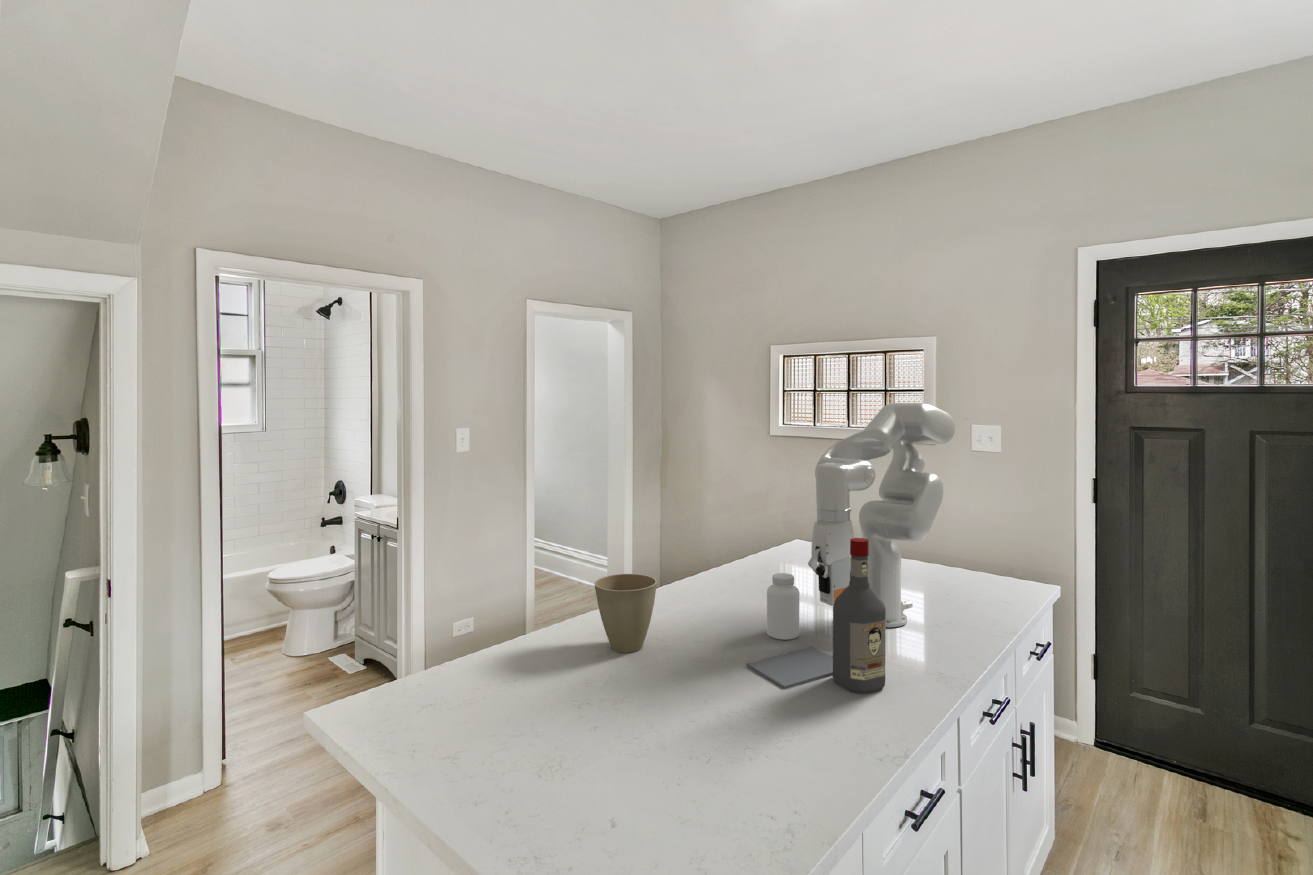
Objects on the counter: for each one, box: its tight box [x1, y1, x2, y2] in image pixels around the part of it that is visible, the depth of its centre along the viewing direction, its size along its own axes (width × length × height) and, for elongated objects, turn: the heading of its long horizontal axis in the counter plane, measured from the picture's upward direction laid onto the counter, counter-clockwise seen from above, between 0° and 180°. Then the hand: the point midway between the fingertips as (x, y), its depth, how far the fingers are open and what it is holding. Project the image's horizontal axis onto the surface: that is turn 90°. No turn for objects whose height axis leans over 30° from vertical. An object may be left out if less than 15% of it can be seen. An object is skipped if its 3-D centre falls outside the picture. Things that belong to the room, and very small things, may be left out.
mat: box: [746, 646, 833, 690], centre depth 140 cm, size 19×13×1 cm
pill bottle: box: [766, 572, 800, 641], centre depth 159 cm, size 8×8×15 cm
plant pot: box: [594, 573, 658, 653], centre depth 153 cm, size 15×15×16 cm
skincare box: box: [819, 556, 850, 607], centre depth 153 cm, size 6×4×12 cm
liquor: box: [832, 537, 887, 694], centre depth 131 cm, size 9×9×30 cm
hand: (835, 588), depth 153 cm, fingers closed on skincare box, 6 cm apart
